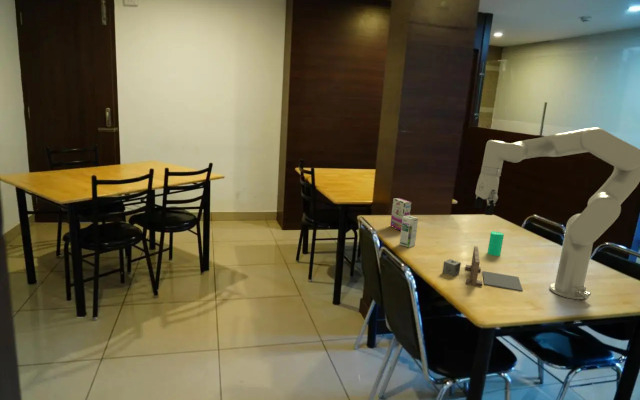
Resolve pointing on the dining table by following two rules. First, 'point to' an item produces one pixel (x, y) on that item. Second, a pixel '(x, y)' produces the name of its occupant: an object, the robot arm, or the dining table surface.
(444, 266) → the dice cube
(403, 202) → the candy bar box
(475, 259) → the walnut screen
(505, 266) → the dining table surface
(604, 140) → the robot arm
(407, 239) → the syrup box
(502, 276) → the grey mat
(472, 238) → the dining table surface
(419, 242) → the dining table surface
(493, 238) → the candle
